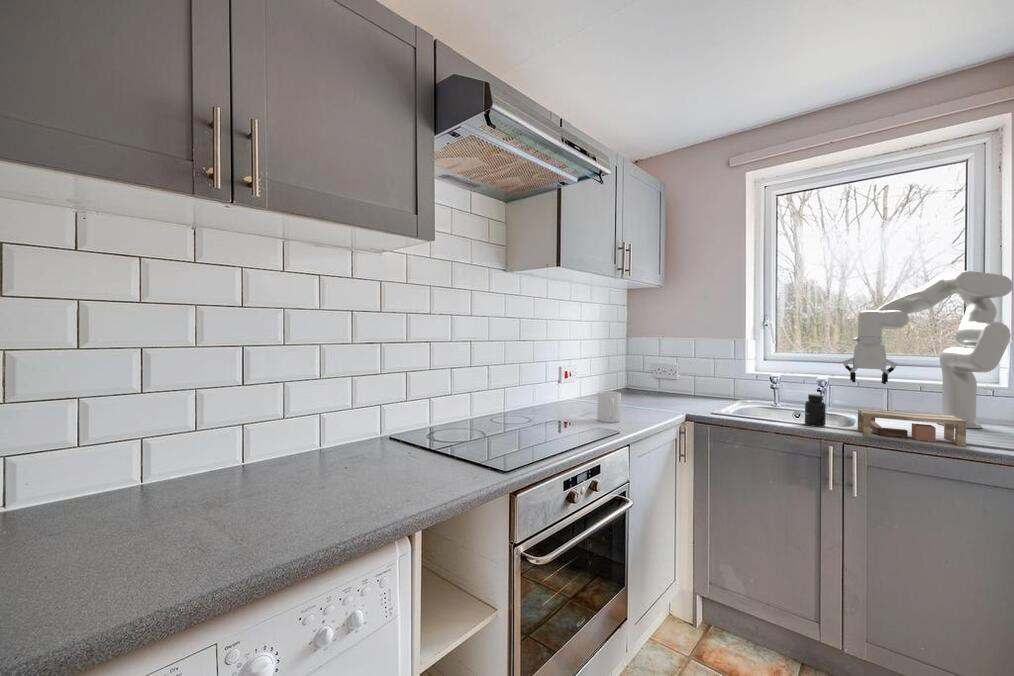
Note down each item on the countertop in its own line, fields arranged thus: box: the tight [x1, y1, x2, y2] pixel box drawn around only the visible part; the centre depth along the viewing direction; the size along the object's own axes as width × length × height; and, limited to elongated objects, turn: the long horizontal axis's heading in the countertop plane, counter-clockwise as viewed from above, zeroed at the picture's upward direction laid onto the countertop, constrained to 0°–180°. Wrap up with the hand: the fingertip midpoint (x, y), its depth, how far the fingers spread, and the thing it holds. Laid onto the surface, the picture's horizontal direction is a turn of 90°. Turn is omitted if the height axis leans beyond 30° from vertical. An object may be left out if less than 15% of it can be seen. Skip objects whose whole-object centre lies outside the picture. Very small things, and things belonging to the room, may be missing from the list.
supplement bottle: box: [804, 393, 827, 427], centre depth 174 cm, size 7×7×12 cm
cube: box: [911, 422, 937, 442], centre depth 151 cm, size 5×5×5 cm
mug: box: [596, 390, 622, 424], centre depth 178 cm, size 10×12×12 cm
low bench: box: [857, 408, 967, 447], centre depth 153 cm, size 12×26×8 cm, turn 60°
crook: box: [860, 407, 909, 438], centre depth 167 cm, size 26×9×6 cm, turn 150°
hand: (868, 382), depth 177 cm, fingers open, 9 cm apart
